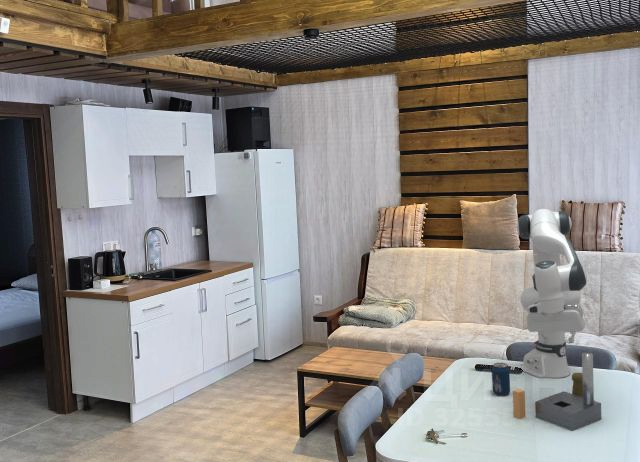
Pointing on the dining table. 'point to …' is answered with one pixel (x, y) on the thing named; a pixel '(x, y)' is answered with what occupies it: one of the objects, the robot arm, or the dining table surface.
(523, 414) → the orange brown rectangular block
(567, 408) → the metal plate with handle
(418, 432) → the dining table surface
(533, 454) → the dining table surface
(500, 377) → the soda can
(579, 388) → the cork
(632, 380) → the dining table surface
